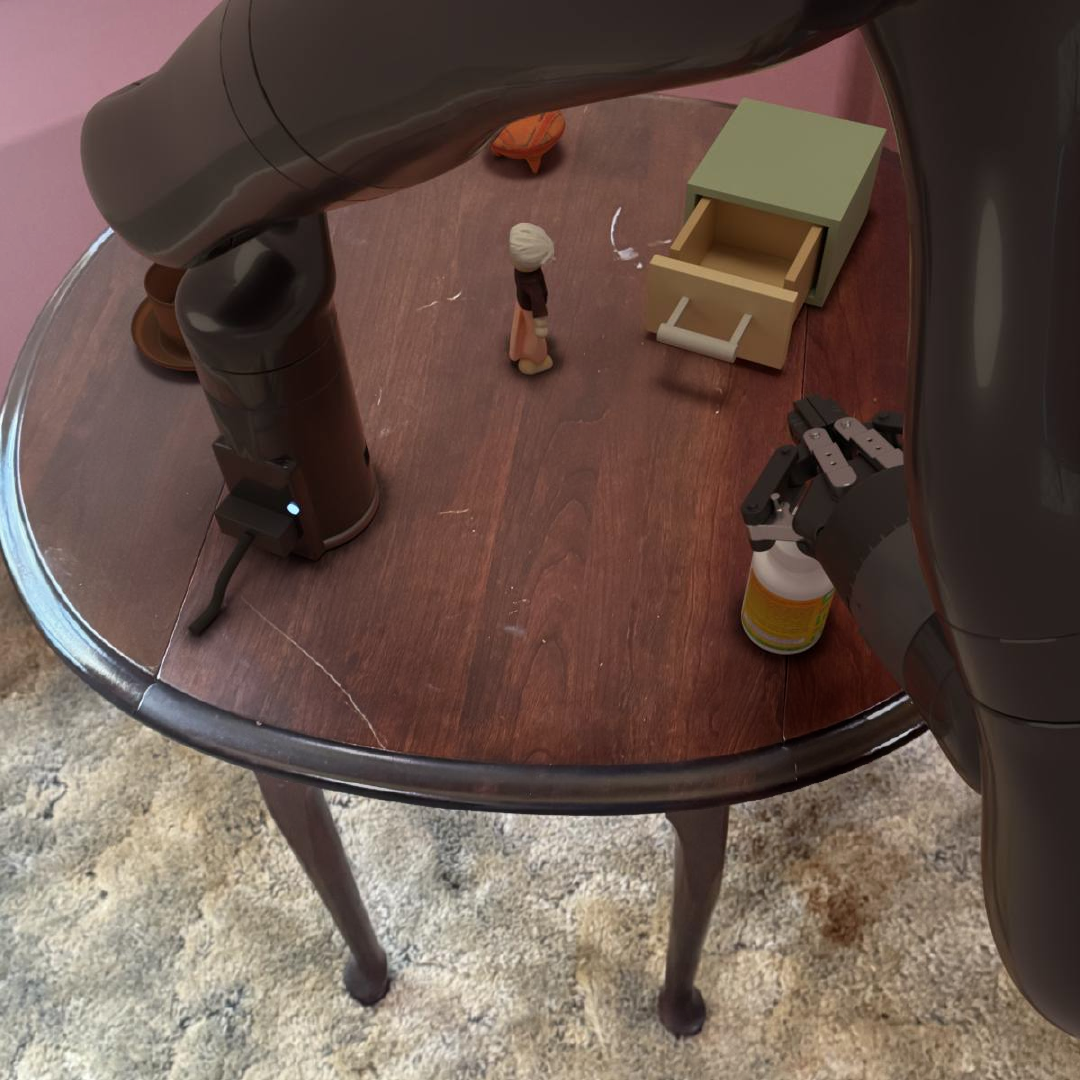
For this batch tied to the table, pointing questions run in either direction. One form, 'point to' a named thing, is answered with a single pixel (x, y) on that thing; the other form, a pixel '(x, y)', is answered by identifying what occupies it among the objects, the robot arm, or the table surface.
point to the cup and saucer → (161, 320)
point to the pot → (530, 137)
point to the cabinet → (794, 174)
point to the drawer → (734, 282)
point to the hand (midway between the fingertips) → (806, 411)
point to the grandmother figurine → (530, 297)
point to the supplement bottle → (786, 599)
